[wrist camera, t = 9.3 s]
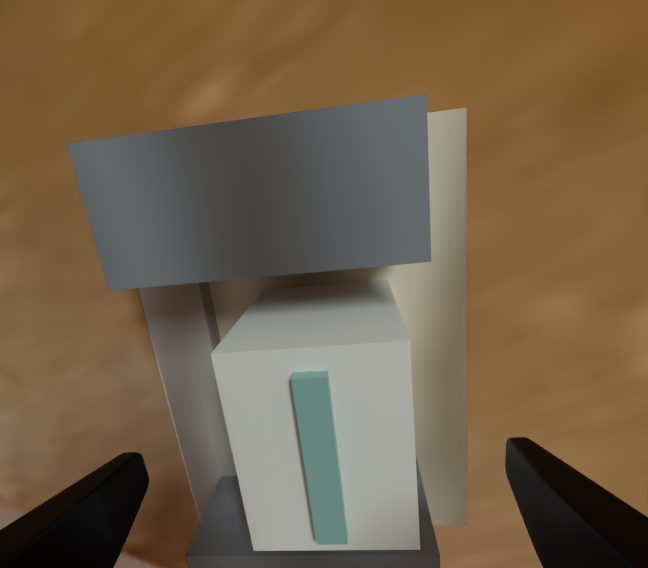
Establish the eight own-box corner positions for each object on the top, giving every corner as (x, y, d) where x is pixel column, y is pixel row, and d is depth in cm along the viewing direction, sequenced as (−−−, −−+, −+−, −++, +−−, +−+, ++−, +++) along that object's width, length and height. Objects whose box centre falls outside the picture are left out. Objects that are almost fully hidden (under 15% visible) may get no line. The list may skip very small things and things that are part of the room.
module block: (387, 279, 12) (412, 346, 7) (396, 423, 14) (422, 561, 9) (263, 290, 13) (205, 360, 8) (286, 428, 14) (250, 562, 9)
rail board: (456, 113, 12) (530, 65, 7) (459, 504, 16) (505, 641, 11) (120, 158, 13) (-16, 143, 8) (209, 509, 17) (155, 634, 12)
